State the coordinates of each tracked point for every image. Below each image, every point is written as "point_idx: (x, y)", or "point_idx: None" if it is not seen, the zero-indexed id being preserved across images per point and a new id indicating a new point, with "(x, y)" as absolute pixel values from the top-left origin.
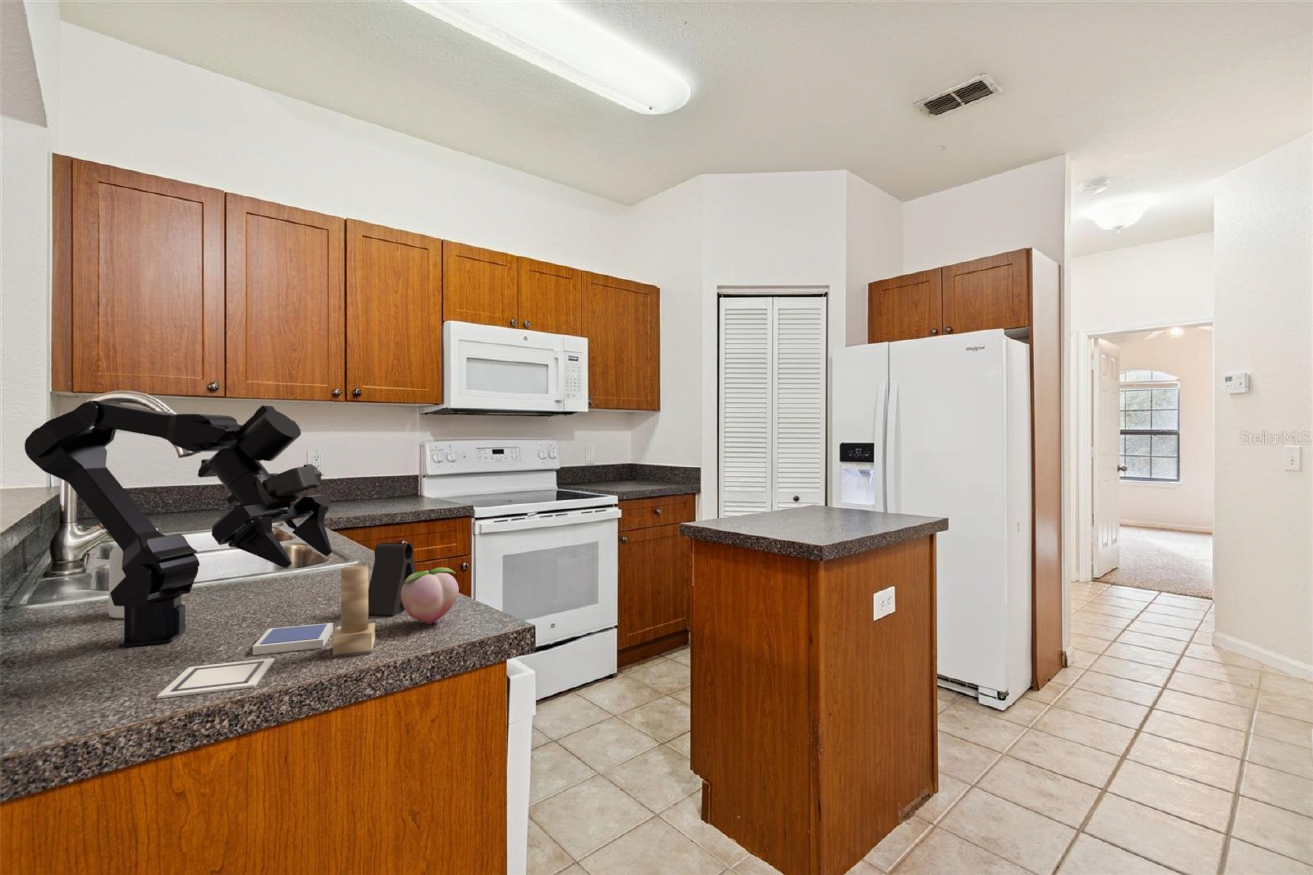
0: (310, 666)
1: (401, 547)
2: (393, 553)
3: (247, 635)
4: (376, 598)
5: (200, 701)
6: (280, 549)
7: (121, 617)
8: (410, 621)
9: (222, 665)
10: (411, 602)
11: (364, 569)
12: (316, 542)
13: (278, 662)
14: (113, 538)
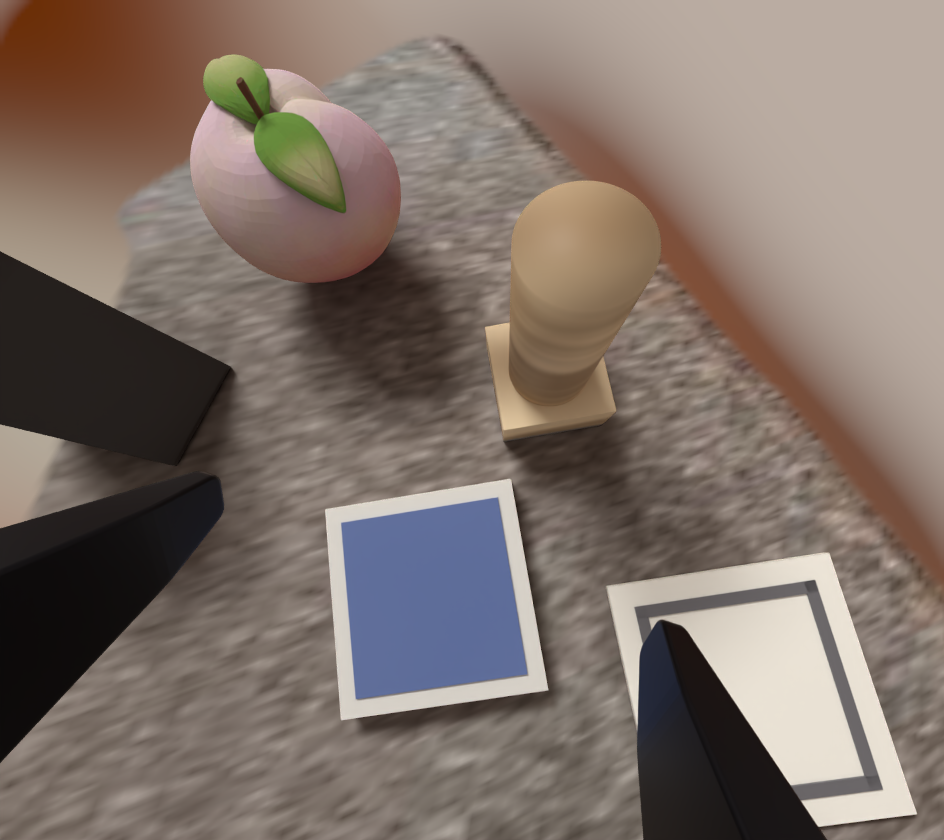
0: (668, 461)
1: None
2: None
3: (316, 797)
4: (143, 414)
5: (923, 659)
6: (773, 781)
7: None
8: (300, 306)
9: None
10: (388, 223)
11: (617, 188)
12: (82, 618)
13: (623, 567)
14: None
